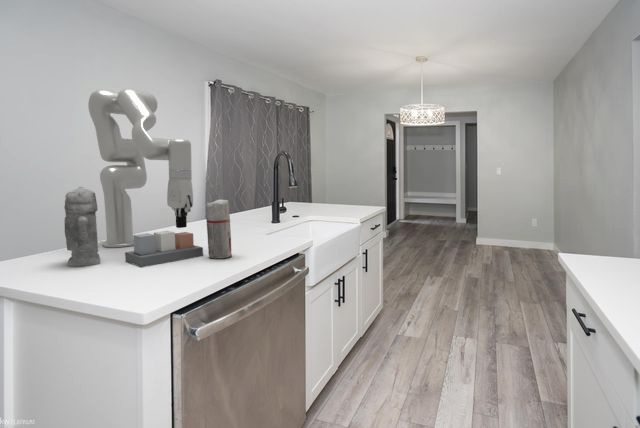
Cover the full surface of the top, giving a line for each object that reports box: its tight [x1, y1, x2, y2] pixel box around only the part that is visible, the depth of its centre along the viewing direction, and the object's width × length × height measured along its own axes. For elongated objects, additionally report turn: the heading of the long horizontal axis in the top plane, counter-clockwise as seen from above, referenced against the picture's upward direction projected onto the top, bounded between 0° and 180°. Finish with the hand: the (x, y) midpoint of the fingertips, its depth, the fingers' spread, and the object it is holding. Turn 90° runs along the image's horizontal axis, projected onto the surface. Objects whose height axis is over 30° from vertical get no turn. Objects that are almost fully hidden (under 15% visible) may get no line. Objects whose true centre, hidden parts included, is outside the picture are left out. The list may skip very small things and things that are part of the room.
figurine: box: [63, 186, 101, 267], centre depth 137 cm, size 10×14×25 cm
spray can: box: [205, 199, 233, 260], centre depth 146 cm, size 8×8×20 cm
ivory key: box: [153, 230, 175, 252], centre depth 144 cm, size 5×5×6 cm
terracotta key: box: [175, 231, 194, 249], centre depth 149 cm, size 5×5×6 cm
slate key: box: [133, 232, 156, 255], centre depth 139 cm, size 5×5×6 cm
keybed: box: [124, 244, 204, 268], centre depth 145 cm, size 12×22×3 cm, turn 138°
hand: (181, 227), depth 149 cm, fingers closed
